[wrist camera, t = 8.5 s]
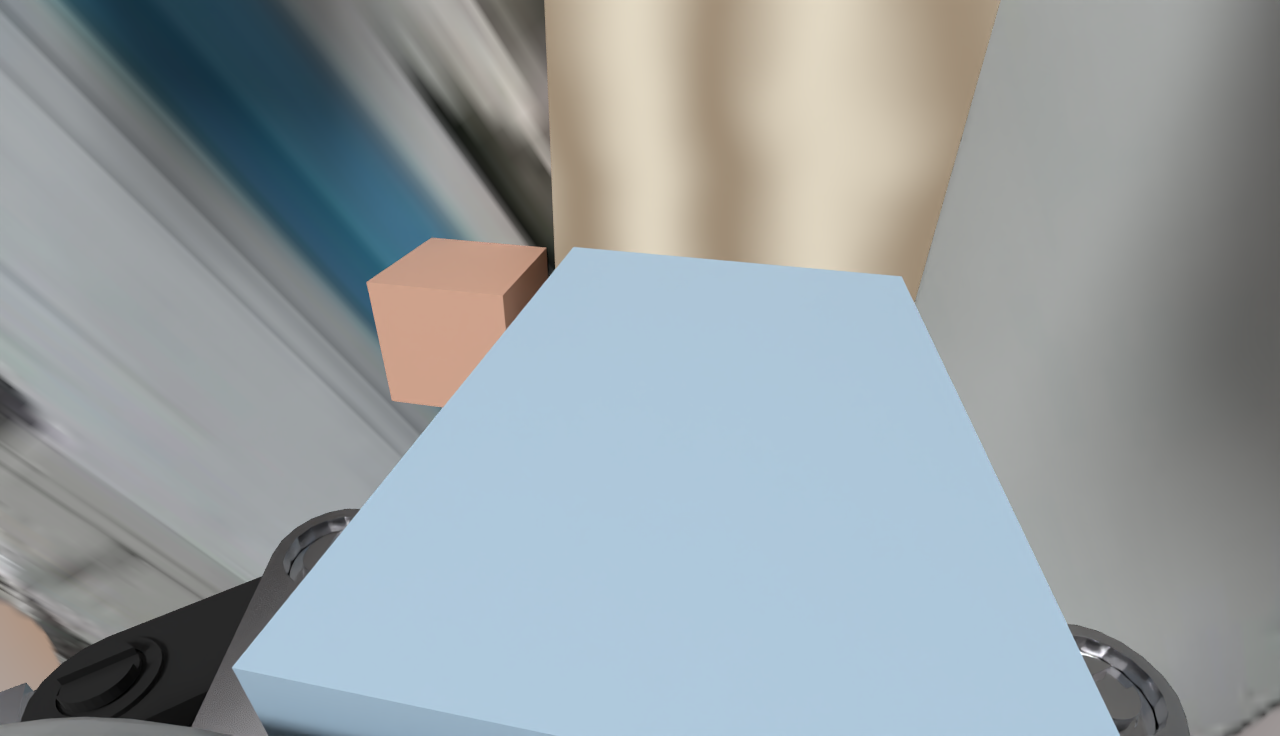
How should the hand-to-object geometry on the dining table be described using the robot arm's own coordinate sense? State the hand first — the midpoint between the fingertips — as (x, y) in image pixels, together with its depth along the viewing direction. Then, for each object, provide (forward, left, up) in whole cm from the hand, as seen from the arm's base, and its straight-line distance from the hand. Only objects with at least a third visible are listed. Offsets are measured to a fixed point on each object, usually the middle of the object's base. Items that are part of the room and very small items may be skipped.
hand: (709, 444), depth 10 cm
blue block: (0, 0, -1) cm, 1 cm away
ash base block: (0, 0, -19) cm, 19 cm away
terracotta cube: (+12, +7, -19) cm, 24 cm away
